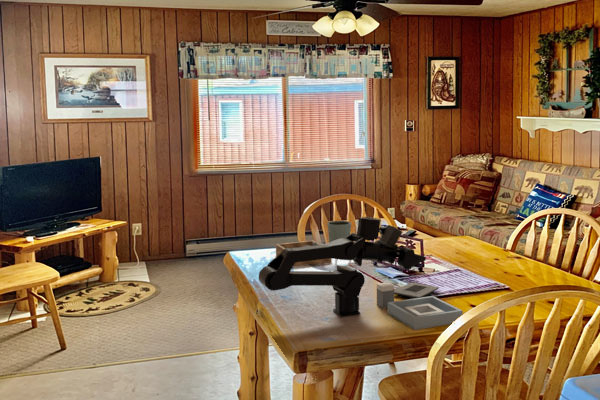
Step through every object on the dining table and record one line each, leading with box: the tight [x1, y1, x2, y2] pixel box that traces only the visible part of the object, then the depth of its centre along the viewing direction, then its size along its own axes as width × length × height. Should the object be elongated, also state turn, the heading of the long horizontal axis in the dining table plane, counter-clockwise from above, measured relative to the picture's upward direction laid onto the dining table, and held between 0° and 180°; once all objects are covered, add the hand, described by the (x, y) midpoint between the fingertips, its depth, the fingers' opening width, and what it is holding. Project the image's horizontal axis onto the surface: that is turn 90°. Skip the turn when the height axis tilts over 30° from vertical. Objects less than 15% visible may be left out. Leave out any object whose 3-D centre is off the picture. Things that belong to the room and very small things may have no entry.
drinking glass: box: [327, 220, 352, 243], centre depth 291 cm, size 10×10×12 cm
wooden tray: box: [275, 240, 333, 267], centre depth 277 cm, size 17×19×5 cm
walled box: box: [387, 295, 464, 331], centre depth 202 cm, size 16×16×4 cm
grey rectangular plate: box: [394, 282, 440, 299], centre depth 226 cm, size 13×10×2 cm
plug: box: [376, 281, 395, 309], centre depth 214 cm, size 4×4×7 cm
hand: (417, 255), depth 215 cm, fingers open, 9 cm apart
